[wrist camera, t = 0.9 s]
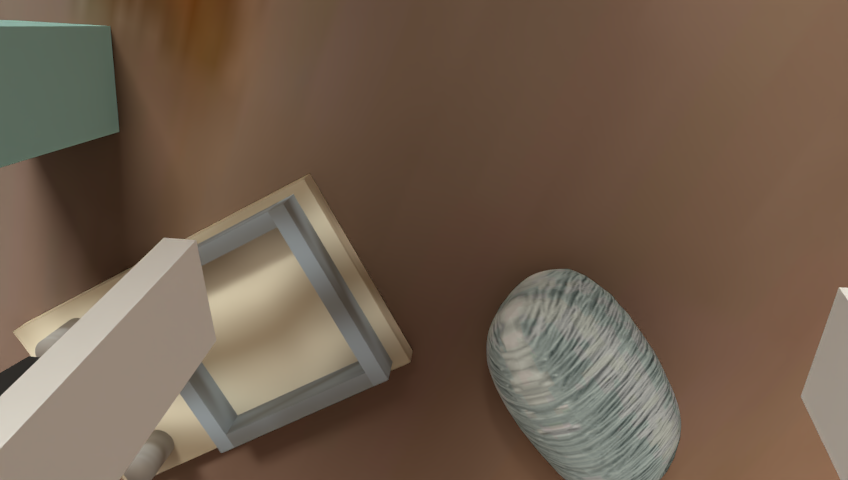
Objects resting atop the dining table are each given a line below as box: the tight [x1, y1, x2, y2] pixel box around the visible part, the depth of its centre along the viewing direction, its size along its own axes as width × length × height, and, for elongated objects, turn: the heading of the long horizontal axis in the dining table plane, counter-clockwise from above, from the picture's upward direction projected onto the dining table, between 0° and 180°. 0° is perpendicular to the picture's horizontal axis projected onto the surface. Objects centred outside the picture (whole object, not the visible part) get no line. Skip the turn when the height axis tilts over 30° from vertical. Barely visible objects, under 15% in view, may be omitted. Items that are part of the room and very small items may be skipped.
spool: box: [486, 269, 681, 480], centre depth 38 cm, size 14×10×10 cm
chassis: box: [13, 173, 413, 480], centre depth 41 cm, size 13×22×4 cm, turn 118°
